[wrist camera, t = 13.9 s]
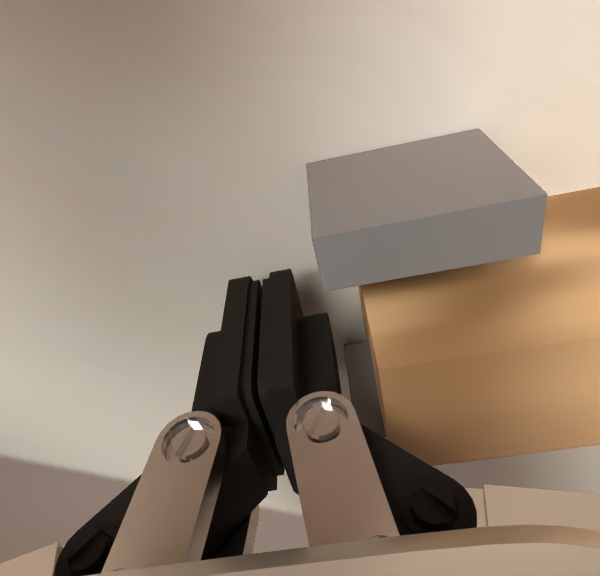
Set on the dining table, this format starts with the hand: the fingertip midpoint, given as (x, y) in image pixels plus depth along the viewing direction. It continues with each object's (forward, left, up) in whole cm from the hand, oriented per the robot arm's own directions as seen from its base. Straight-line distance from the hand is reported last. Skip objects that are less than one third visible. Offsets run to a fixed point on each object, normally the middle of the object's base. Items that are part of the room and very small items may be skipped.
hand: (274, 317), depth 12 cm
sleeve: (+4, 0, -1) cm, 4 cm away
